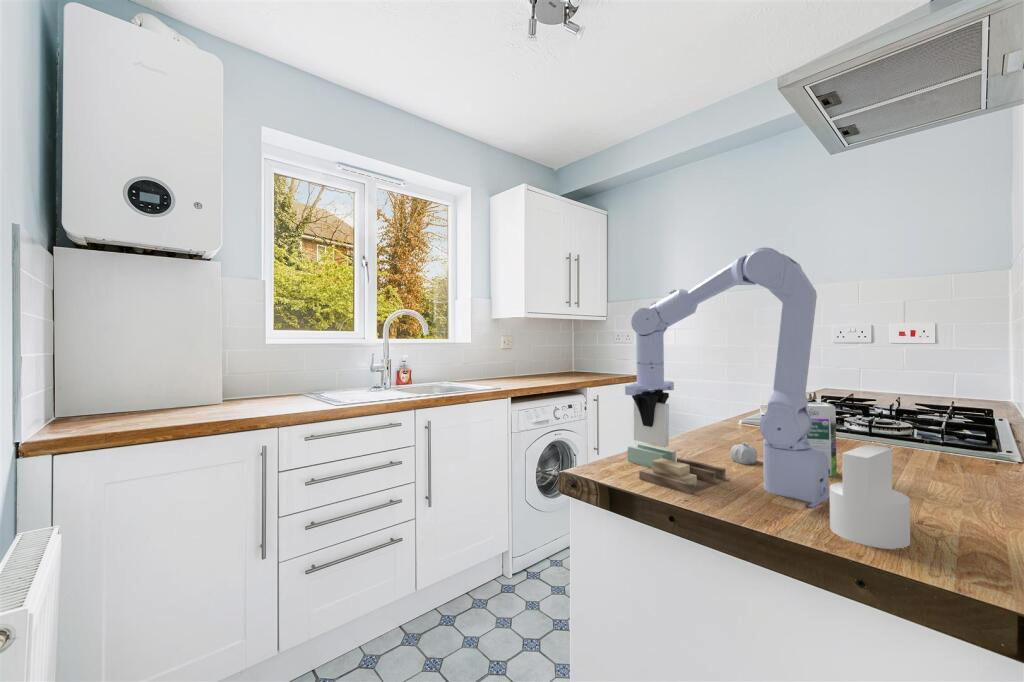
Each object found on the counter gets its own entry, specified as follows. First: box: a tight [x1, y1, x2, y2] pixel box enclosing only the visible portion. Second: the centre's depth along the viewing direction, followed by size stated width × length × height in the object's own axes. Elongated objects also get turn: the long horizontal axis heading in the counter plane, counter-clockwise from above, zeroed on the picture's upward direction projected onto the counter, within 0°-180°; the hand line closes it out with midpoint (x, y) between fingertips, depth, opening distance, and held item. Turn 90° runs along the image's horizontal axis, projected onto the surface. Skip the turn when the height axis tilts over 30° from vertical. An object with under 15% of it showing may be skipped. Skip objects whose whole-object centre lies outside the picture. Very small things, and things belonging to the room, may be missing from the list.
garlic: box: [729, 441, 758, 465], centre depth 99 cm, size 6×5×5 cm
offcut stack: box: [652, 458, 697, 486], centre depth 85 cm, size 7×4×4 cm, turn 36°
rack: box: [638, 457, 732, 495], centre depth 87 cm, size 11×14×3 cm
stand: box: [627, 443, 677, 469], centre depth 98 cm, size 9×5×4 cm, turn 36°
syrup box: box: [805, 401, 838, 478], centre depth 92 cm, size 6×6×14 cm
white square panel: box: [633, 400, 670, 448], centre depth 98 cm, size 8×2×9 cm, turn 36°
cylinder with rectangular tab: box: [829, 444, 911, 550], centre depth 64 cm, size 9×9×12 cm
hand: (650, 425), depth 98 cm, fingers closed on white square panel
